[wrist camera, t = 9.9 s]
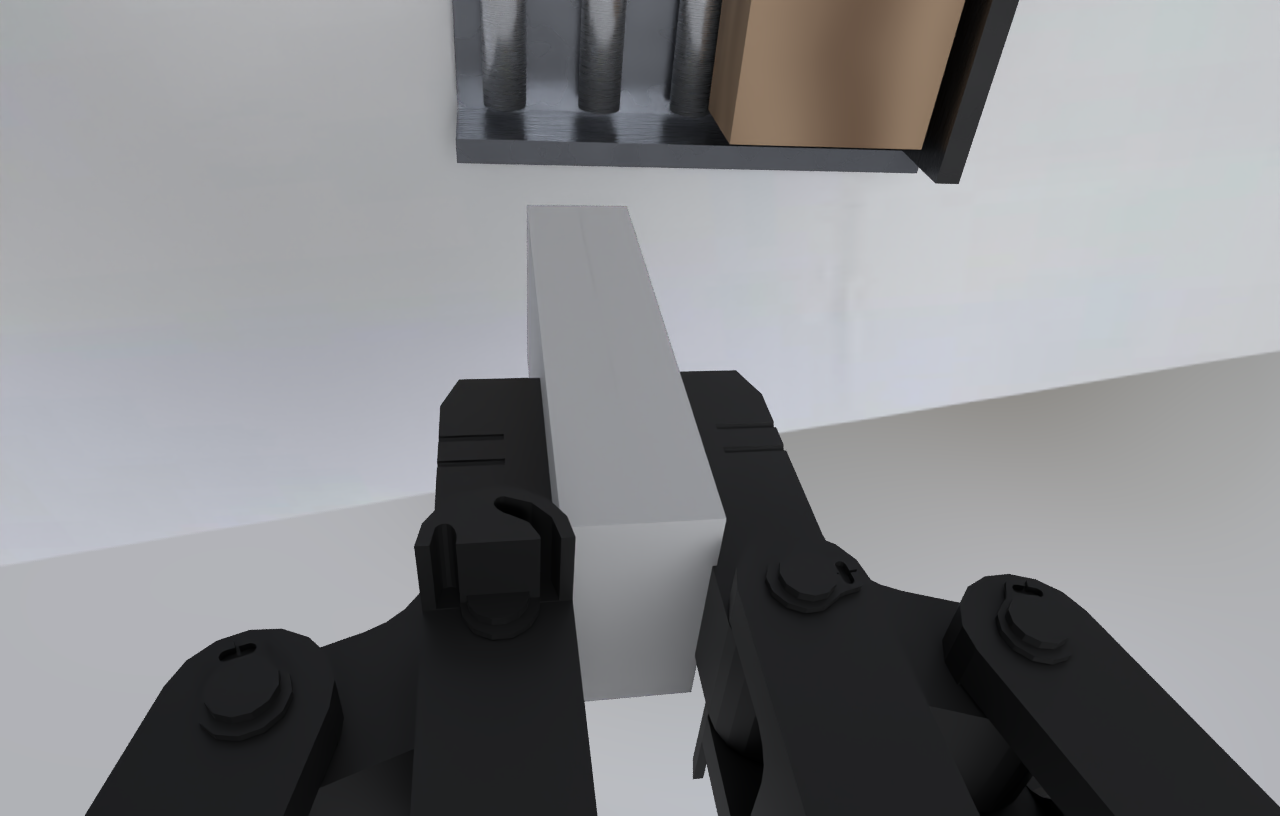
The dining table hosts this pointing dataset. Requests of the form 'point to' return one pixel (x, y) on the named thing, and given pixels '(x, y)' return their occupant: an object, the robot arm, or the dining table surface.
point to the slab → (830, 71)
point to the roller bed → (666, 89)
